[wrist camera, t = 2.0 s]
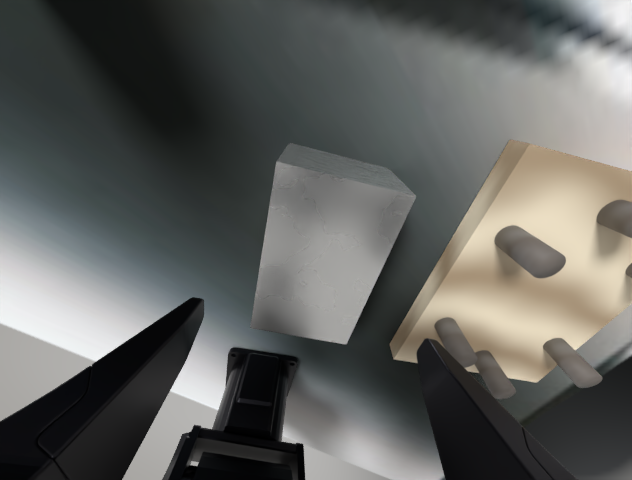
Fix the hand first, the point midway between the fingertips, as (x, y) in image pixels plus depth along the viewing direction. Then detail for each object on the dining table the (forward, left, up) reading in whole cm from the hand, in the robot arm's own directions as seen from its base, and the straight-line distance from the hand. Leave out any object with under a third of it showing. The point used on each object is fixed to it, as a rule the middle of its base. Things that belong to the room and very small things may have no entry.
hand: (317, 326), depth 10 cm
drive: (0, 0, -8) cm, 8 cm away
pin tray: (-1, -16, -8) cm, 18 cm away
